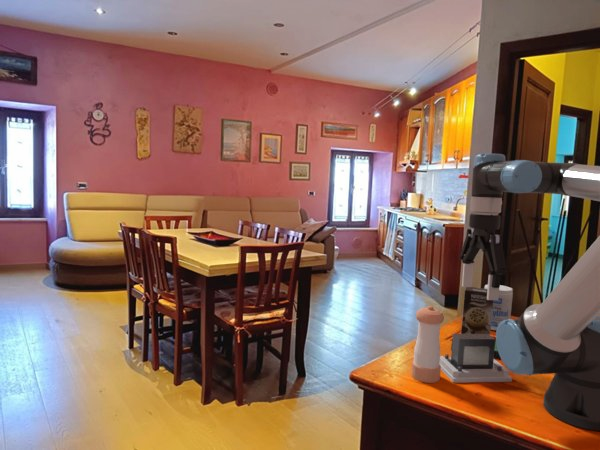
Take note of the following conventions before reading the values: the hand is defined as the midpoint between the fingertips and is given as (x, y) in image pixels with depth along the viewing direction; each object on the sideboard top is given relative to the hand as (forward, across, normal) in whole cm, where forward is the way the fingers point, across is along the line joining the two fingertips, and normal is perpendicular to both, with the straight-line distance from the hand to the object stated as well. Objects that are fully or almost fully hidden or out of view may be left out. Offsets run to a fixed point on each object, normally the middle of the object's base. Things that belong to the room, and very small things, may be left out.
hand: (478, 293), depth 121 cm
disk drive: (+23, +17, -10) cm, 30 cm away
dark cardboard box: (+22, +28, -15) cm, 38 cm away
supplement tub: (+22, +36, -27) cm, 50 cm away
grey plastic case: (+21, +1, 0) cm, 21 cm away
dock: (+22, 0, 0) cm, 22 cm away
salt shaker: (+22, -2, +14) cm, 27 cm away
